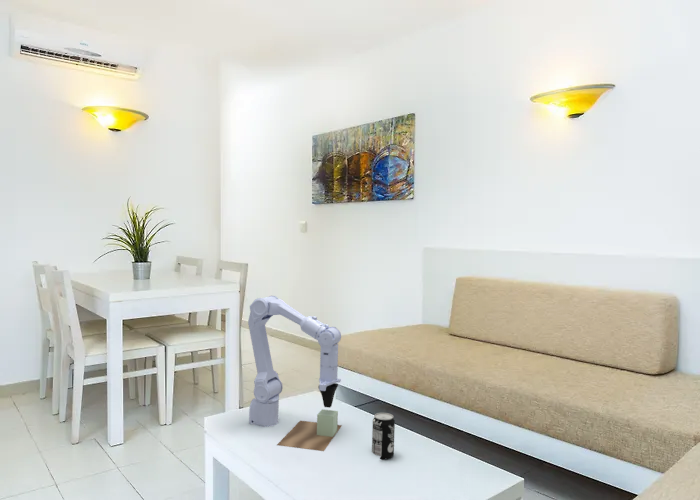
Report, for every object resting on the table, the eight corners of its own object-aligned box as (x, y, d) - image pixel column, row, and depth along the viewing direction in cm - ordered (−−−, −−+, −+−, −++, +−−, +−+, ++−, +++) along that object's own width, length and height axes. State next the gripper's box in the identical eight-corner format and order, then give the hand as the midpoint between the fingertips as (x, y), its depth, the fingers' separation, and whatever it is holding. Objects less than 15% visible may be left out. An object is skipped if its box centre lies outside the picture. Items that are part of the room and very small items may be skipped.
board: (276, 448, 157) (276, 445, 157) (300, 423, 179) (300, 420, 179) (323, 455, 154) (323, 451, 154) (341, 428, 175) (342, 425, 175)
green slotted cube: (316, 435, 166) (317, 414, 166) (321, 429, 171) (322, 409, 171) (332, 436, 165) (333, 416, 165) (337, 430, 170) (337, 411, 170)
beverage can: (393, 451, 158) (395, 412, 157) (393, 460, 151) (394, 420, 151) (372, 450, 158) (373, 411, 158) (371, 459, 152) (372, 419, 151)
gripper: (334, 371, 160) (333, 415, 160) (346, 361, 174) (345, 401, 174) (313, 369, 161) (312, 412, 162) (326, 359, 175) (325, 399, 176)
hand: (327, 406), depth 168 cm, fingers closed
